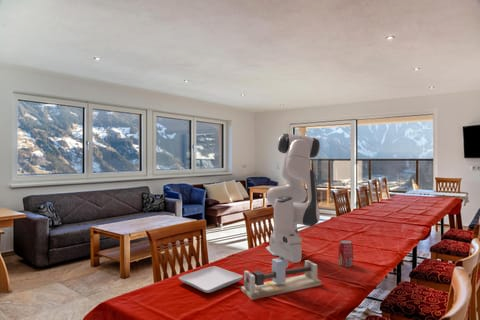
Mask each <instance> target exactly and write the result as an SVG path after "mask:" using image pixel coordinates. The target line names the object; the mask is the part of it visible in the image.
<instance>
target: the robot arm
mask: <svg viewBox="0 0 480 320" xmlns="http://www.w3.org/2000/svg"><path fill="white" fill-rule="evenodd" d="M276 144H277V145H276V147H277V150H278V152H280V153H281V154H284V155H285V156H284V159H283V164H282V169H281V176H282V178H283V179H284V180H285V181H286V185H279V186H274V187H270V188H268V190H267V192H266V201H267V202H268V204H270V205H271V206H272V208H273V221H274V224H273V230H272V232H271V235H270V238H269V245H268V246H266V247H265V249H266V251H268V252H269V253H270V254H271V255H272V256H276V257H277V256H278V258H280V259H283V260H284V261H285V269H288V267H289V263H290V262H291V263H292V264H294V263H295V264H297V263H300V262H301V260H302V259H303V258H302V255H303V253H302V250H303V249H302V245H301V243H302V242H303V240H302V239H303V238H302V237H301V236H300V235H299V231H298V225H303V226H306V227H313V226H315V225H317V224H318V223H319V221H320V217H321V216H320V209H319V198H318V197H319V196H318V186H317V177H316V174H315V172H314V170H312V169H311V167H310V162H311V159H312V158H313V159H314V158H315V157H318V154H319V153H320V151H321V143H320V140H319V139H318V138H315V137H310V136H307V135H302V134H301V135H299V134H289V133H282V134H281V135H280V136H279V137H278V139H277V142H276ZM303 183H304V184H305V185H306V188H305V187H304V185H303ZM306 199H307V201H306ZM305 201H306V202H305Z"/></svg>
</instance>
